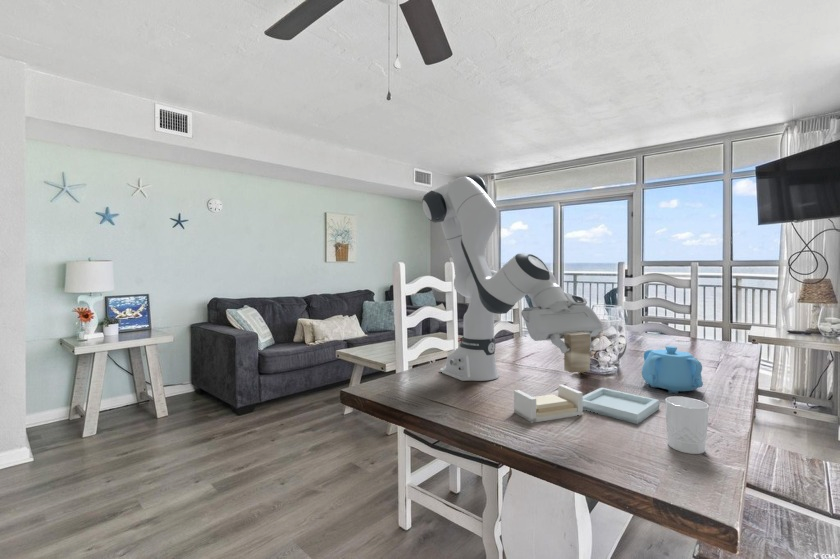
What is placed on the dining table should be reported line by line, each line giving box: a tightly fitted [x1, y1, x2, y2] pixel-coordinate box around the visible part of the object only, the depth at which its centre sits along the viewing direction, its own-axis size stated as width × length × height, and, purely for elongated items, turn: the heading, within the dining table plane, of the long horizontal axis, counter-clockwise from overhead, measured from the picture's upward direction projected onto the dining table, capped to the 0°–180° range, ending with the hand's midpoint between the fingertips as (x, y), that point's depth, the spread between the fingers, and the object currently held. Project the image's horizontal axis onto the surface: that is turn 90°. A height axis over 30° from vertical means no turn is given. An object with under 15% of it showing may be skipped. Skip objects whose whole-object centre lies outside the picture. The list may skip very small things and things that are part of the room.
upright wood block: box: [563, 332, 591, 374], centre depth 97 cm, size 2×6×9 cm, turn 109°
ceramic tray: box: [582, 386, 660, 425], centre depth 112 cm, size 16×16×2 cm
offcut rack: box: [513, 384, 584, 424], centre depth 108 cm, size 8×16×6 cm, turn 109°
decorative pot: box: [641, 345, 704, 394], centre depth 130 cm, size 16×16×14 cm
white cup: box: [664, 395, 710, 455], centre depth 87 cm, size 8×8×10 cm
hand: (578, 350), depth 97 cm, fingers closed on upright wood block, 5 cm apart
